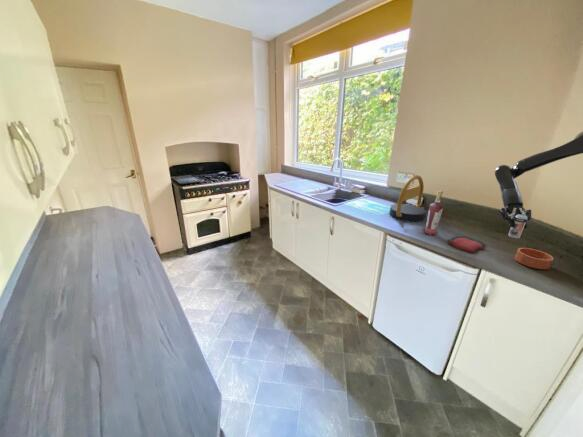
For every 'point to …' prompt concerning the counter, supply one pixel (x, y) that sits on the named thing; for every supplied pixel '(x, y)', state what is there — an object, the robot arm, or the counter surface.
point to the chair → (409, 211)
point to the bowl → (533, 258)
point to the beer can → (518, 226)
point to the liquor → (434, 215)
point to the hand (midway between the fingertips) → (519, 227)
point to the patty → (466, 245)
